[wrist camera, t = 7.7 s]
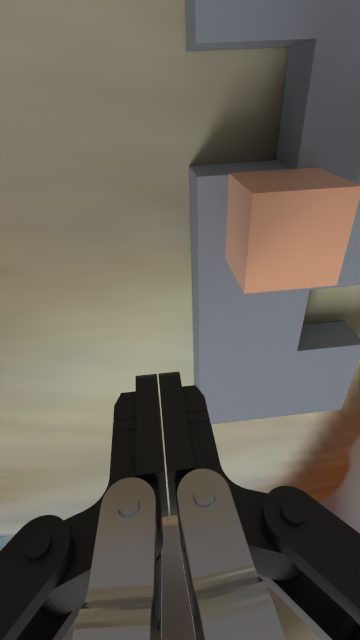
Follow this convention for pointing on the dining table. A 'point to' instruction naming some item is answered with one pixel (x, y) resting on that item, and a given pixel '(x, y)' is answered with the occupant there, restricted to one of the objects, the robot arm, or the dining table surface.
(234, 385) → the board
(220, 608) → the robot arm
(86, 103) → the dining table surface
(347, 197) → the block
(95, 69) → the dining table surface
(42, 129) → the dining table surface
